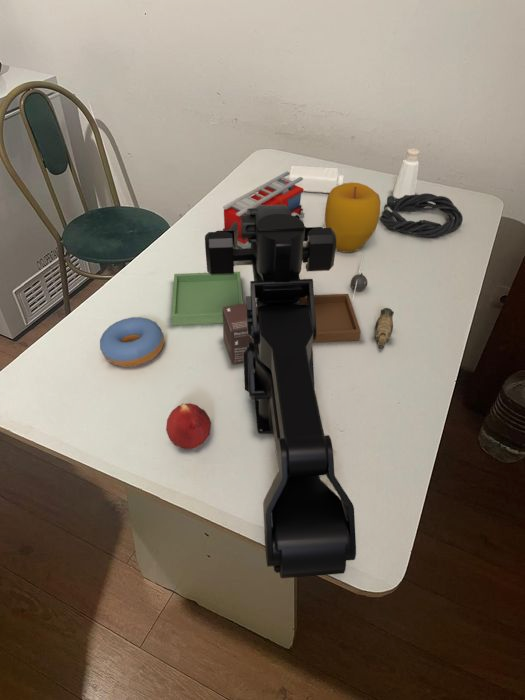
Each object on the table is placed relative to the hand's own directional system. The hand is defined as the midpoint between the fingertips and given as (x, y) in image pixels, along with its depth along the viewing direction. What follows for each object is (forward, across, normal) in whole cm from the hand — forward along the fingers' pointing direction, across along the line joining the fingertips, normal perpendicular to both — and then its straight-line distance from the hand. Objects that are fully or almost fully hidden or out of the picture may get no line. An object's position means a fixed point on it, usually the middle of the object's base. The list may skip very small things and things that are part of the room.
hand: (265, 223), depth 81 cm
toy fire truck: (+25, -2, +17) cm, 30 cm away
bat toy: (+4, -18, +17) cm, 25 cm away
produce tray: (+2, +10, +16) cm, 19 cm away
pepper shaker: (+40, -37, +17) cm, 57 cm away
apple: (+19, -19, +17) cm, 31 cm away
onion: (-29, +13, +17) cm, 36 cm away
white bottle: (+45, -16, +17) cm, 50 cm away
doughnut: (-10, +22, +17) cm, 30 cm away
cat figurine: (-10, -19, +17) cm, 27 cm away
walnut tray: (-5, -10, +17) cm, 20 cm away
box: (-11, +4, +17) cm, 21 cm away
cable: (+27, -37, +17) cm, 49 cm away
